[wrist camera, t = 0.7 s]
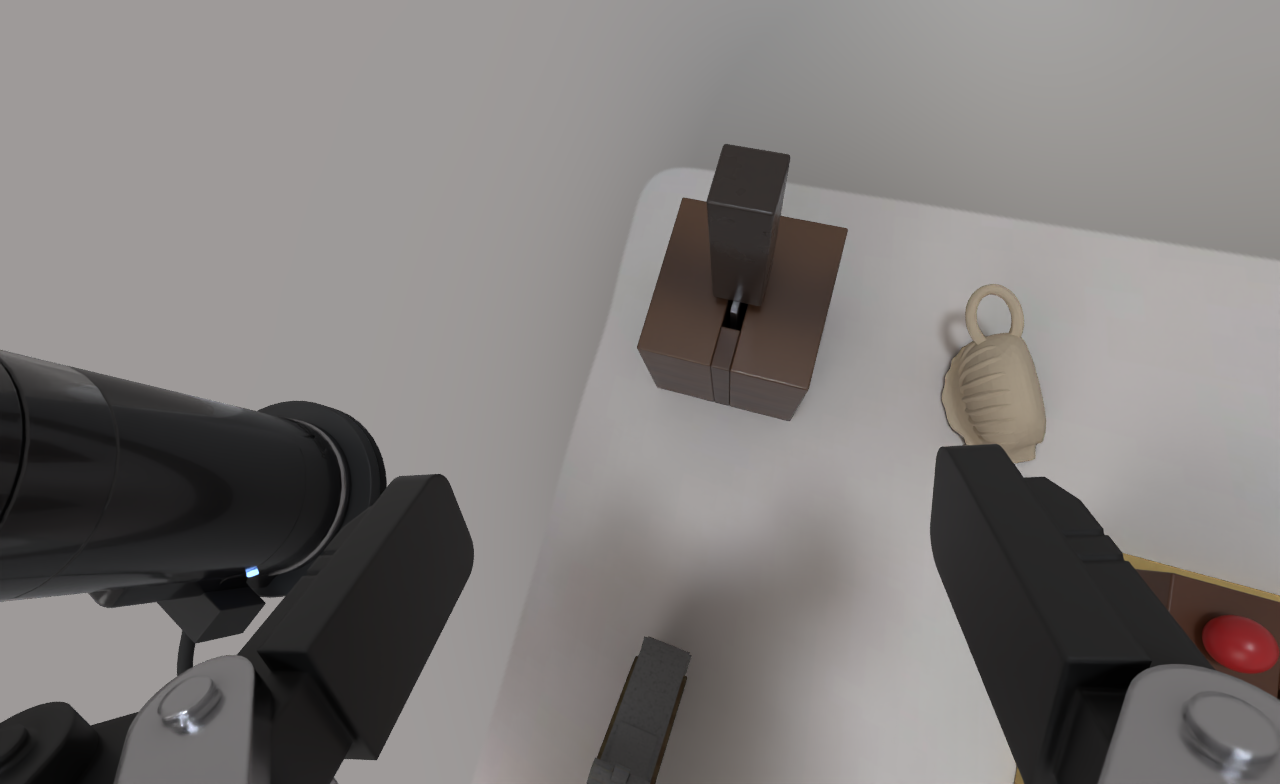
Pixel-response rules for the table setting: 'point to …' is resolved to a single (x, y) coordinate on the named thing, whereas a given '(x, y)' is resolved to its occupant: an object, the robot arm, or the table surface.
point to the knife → (744, 224)
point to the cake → (1220, 622)
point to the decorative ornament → (996, 385)
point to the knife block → (771, 333)
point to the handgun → (643, 717)
